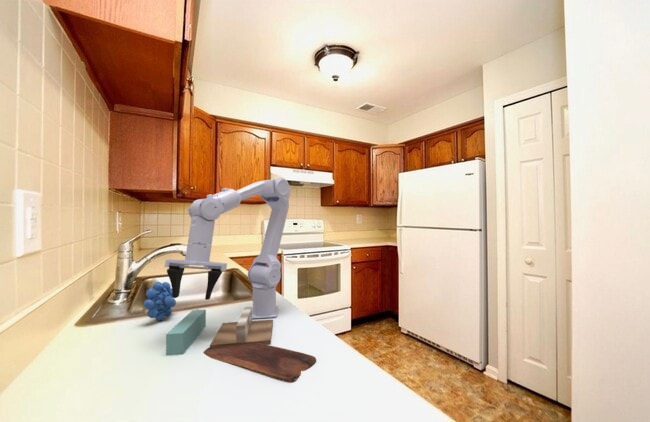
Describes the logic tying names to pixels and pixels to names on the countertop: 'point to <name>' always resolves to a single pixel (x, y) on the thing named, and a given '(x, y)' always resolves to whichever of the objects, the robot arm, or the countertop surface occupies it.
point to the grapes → (159, 301)
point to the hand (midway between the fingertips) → (191, 298)
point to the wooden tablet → (264, 359)
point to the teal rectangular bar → (185, 332)
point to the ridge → (243, 331)
